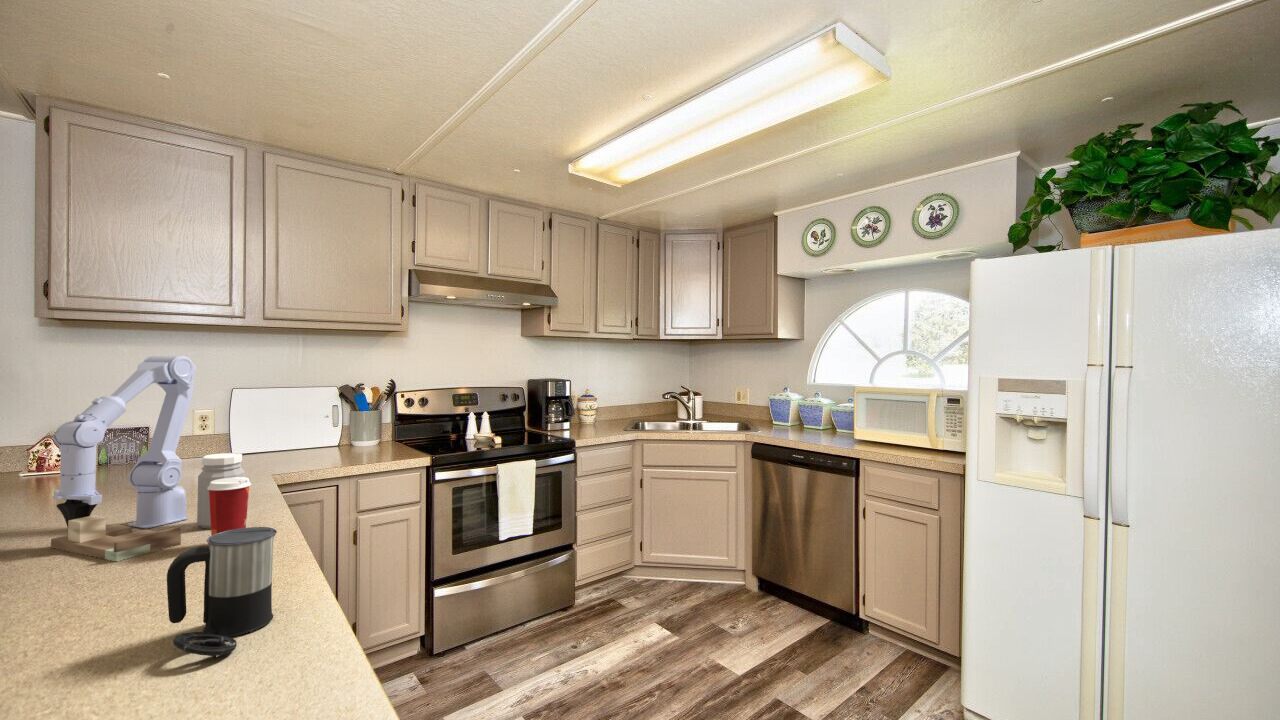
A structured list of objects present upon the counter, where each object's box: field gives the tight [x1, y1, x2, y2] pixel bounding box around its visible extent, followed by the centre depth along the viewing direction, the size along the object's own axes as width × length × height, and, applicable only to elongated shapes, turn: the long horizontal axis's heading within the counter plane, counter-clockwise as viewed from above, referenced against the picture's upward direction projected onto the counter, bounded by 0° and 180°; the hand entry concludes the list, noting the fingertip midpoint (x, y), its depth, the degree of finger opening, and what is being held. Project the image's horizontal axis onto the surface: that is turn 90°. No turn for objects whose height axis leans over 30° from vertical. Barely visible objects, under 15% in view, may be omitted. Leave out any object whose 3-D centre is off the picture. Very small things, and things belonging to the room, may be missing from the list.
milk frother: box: [166, 526, 278, 659], centre depth 84 cm, size 14×16×15 cm
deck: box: [50, 523, 182, 562], centre depth 124 cm, size 12×24×4 cm, turn 71°
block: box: [67, 514, 107, 543], centre depth 123 cm, size 4×4×4 cm
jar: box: [196, 452, 246, 530], centre depth 142 cm, size 10×10×18 cm
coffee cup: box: [207, 476, 252, 536], centre depth 126 cm, size 8×8×15 cm
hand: (76, 532), depth 124 cm, fingers closed
